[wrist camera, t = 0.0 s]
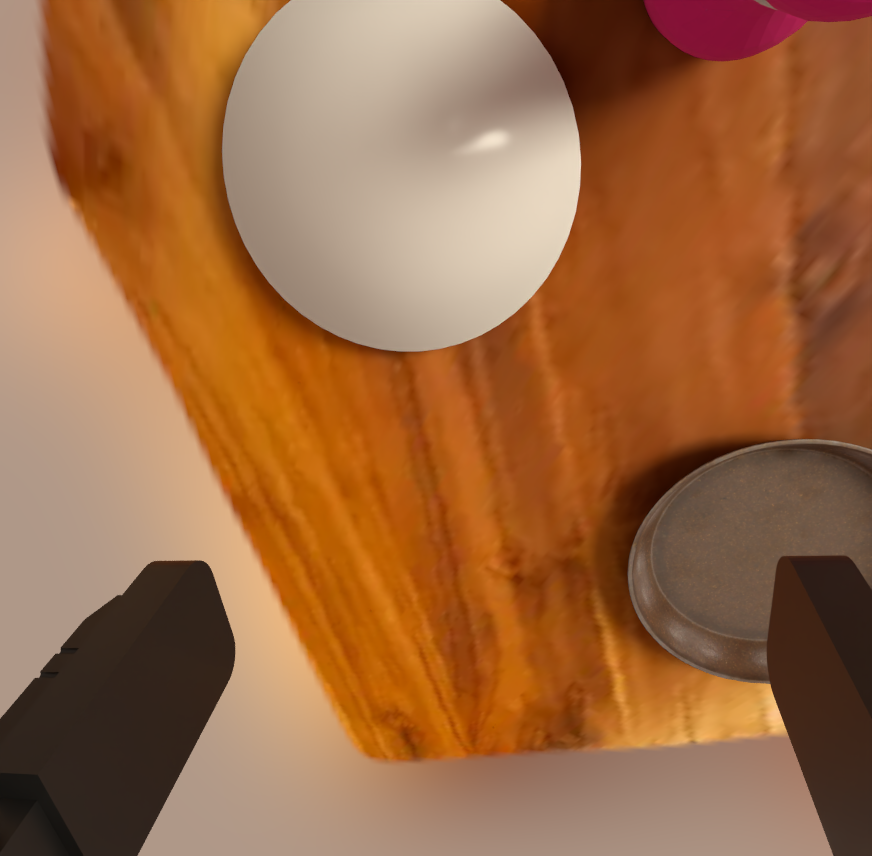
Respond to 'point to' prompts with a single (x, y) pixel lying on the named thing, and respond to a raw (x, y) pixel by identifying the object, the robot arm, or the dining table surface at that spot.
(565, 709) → the dining table surface
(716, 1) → the pepper mill
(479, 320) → the plate
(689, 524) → the plant saucer
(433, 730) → the dining table surface
